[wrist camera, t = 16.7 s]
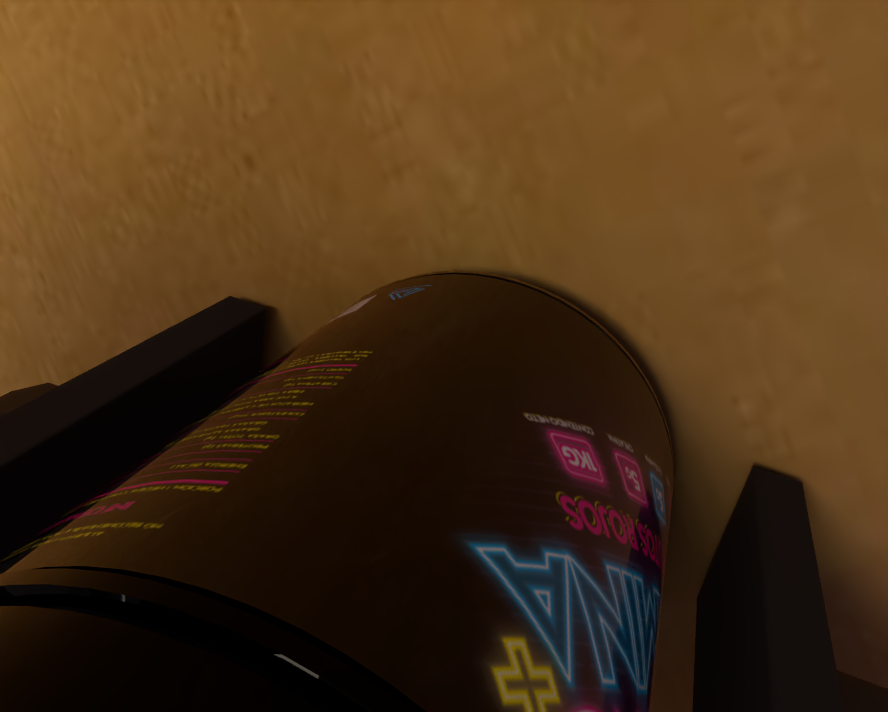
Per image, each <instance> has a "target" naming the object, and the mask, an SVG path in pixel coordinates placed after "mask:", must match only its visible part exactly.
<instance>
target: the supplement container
mask: <svg viewBox="0 0 888 712" xmlns="http://www.w3.org/2000/svg"><path fill="white" fill-rule="evenodd" d="M673 488H674V459H673V449H672V444H671V438H670V433H669V429H668V426H667V423H666V420H665V416H664V413H663V410H662V408H661V406H660V404H659V401H658V399H657V397H656V395H655V392H654V390H653V389H652V387H651V385H650V383H649V382H648V380H647V378H646V377H645V375H644V373H643V372H642V370H641V369H640V368H639V366H638V365H637V363H636V362H635V361H634V359H633V358H632V356H631V355H630V354H629V353H628V352H627V351H626V350H625V348H624V347H623V346H622V345H621V344H620V343H619V342H618V341H617V339H616V338H615V337H613V336H612V335H611V334H610V333H609V332H608V331H607V330H606V329H605V328H604V327H603V326H602V325H600V324H599V323H598V322H597V321H595V320H594V319H593V318H591V317H590V316H589V315H587V314H586V313H585V312H583V311H582V310H581V309H579V308H577V307H576V306H574V305H572V304H571V303H569V302H568V301H566V300H564V299H563V298H561V297H559V296H557V295H554V294H552V293H550V292H548V291H546V290H544V289H542V288H539V287H537V286H534V285H531V284H529V283H526V282H523V281H520V280H516V279H513V278H509V277H505V276H501V275H496V274H489V273H483V272H472V271H443V272H432V273H426V274H420V275H415V276H412V277H408V278H404V279H401V280H397V281H395V282H392V283H390V284H388V285H385V286H383V287H380V288H378V289H376V290H375V291H373V292H371V293H369V294H367V295H366V296H364V297H362V298H361V299H360V300H358V301H357V302H355V303H354V304H353V305H351V306H350V307H348V308H347V309H346V310H344V311H343V312H342V313H340V314H339V315H337V316H336V317H335V318H333V319H332V320H331V321H329V322H328V323H326V324H325V325H324V326H322V327H321V328H320V329H318V330H317V331H315V332H314V333H313V334H311V335H310V336H309V337H307V338H306V339H304V340H303V341H302V342H300V343H299V344H298V345H296V346H295V347H293V348H292V349H291V350H289V351H288V352H287V353H285V354H284V355H283V356H281V357H280V358H278V359H277V360H276V361H274V362H273V363H272V364H270V365H269V366H267V367H266V368H265V369H263V370H262V371H261V372H259V373H258V374H256V375H255V376H254V377H252V378H251V379H250V380H248V381H247V382H245V383H244V384H243V385H241V386H240V387H239V388H237V389H236V390H234V391H233V392H232V393H230V394H229V395H228V396H226V397H225V398H224V399H222V400H221V401H219V402H218V403H217V404H215V405H214V406H213V407H211V408H210V409H208V410H207V411H206V412H204V413H203V414H202V415H200V416H199V417H197V418H196V419H195V420H193V421H192V422H191V423H189V424H188V425H186V426H185V427H184V428H182V429H181V430H180V431H178V432H177V433H175V434H174V435H173V436H171V437H170V438H169V439H167V440H166V441H165V442H163V443H162V444H160V445H159V446H158V447H156V448H155V449H154V450H152V451H151V452H149V453H148V454H147V455H145V456H144V457H143V458H141V459H140V460H138V461H137V462H136V463H134V464H133V465H132V466H130V467H129V468H127V469H126V470H125V471H123V472H122V473H121V474H119V475H118V476H116V477H115V478H114V479H112V480H111V481H110V482H108V483H107V484H106V485H104V486H103V487H101V488H100V489H99V490H97V491H96V492H95V493H93V494H92V495H90V496H89V497H88V498H86V499H85V500H84V501H82V502H81V503H79V504H78V505H77V506H75V507H74V508H73V509H71V510H70V511H68V512H67V513H66V514H64V515H63V516H62V517H60V518H59V519H57V520H56V521H55V522H53V523H52V524H51V525H49V526H48V527H47V528H45V529H44V530H42V531H41V532H40V533H38V534H37V535H36V536H34V537H33V538H31V539H30V540H29V541H27V542H26V543H25V544H23V545H22V546H20V547H19V548H18V549H16V550H15V551H14V552H12V553H11V554H9V555H8V556H7V557H5V558H4V559H3V560H1V561H0V712H651V705H652V695H653V685H654V675H655V666H656V656H657V646H658V636H659V626H660V617H661V607H662V597H663V587H664V577H665V567H666V558H667V548H668V538H669V528H670V518H671V508H672V499H673Z"/></svg>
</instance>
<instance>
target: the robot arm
mask: <svg viewBox="0 0 888 712" xmlns="http://www.w3.org/2000/svg"><path fill="white" fill-rule="evenodd" d="M266 312H267V308H265V307H262V306H259V305H256V304H253V303H250V302H247V301H244V300H241V299H238V298H235V297H232V296H229V297H227V298H225V299H223V300H221V301H220V302H218V303H216V304H214V305H212V306H210V307H208V308H206V309H204V310H202V311H201V312H199V313H197V314H195V315H193V316H191V317H189V318H187V319H185V320H183V321H182V322H180V323H178V324H176V325H174V326H172V327H170V328H168V329H166V330H164V331H163V332H161V333H159V334H157V335H155V336H153V337H151V338H149V339H147V340H145V341H144V342H142V343H140V344H138V345H136V346H134V347H132V348H130V349H128V350H126V351H125V352H123V353H121V354H119V355H117V356H115V357H113V358H111V359H109V360H107V361H106V362H104V363H102V364H100V365H98V366H96V367H94V368H92V369H90V370H88V371H87V372H85V373H83V374H81V375H79V376H77V377H75V378H73V379H71V380H70V381H68V382H66V383H64V384H62V385H60V386H56V385H54V384H51V383H45V384H41V385H36V386H32V387H28V388H24V389H20V390H15V391H11V392H9V393H7V394H5V395H3V396H1V397H0V561H1V560H3V559H4V558H5V557H7V556H8V555H9V554H11V553H12V552H14V551H15V550H16V549H18V548H19V547H20V546H22V545H23V544H25V543H26V542H27V541H29V540H30V539H31V538H33V537H34V536H36V535H37V534H38V533H40V532H41V531H42V530H44V529H45V528H47V527H48V526H49V525H51V524H52V523H53V522H55V521H56V520H57V519H59V518H60V517H62V516H63V515H64V514H66V513H67V512H68V511H70V510H71V509H73V508H74V507H75V506H77V505H78V504H79V503H81V502H82V501H84V500H85V499H86V498H88V497H89V496H90V495H92V494H93V493H95V492H96V491H97V490H99V489H100V488H101V487H103V486H104V485H106V484H107V483H108V482H110V481H111V480H112V479H114V478H115V477H116V476H118V475H119V474H121V473H122V472H123V471H125V470H126V469H127V468H129V467H130V466H132V465H133V464H134V463H136V462H137V461H138V460H140V459H141V458H143V457H144V456H145V455H147V454H148V453H149V452H151V451H152V450H154V449H155V448H156V447H158V446H159V445H160V444H162V443H163V442H165V441H166V440H167V439H169V438H170V437H171V436H173V435H174V434H175V433H177V432H178V431H180V430H181V429H182V428H184V427H185V426H186V425H188V424H189V423H191V422H192V421H193V420H195V419H196V418H197V417H199V416H200V415H202V414H203V413H204V412H206V411H207V410H208V409H210V408H211V407H213V406H214V405H215V404H217V403H218V402H219V401H221V400H222V399H224V398H225V397H226V396H228V395H229V394H230V393H232V392H233V391H234V390H236V389H237V388H239V387H240V386H241V385H243V384H244V383H245V382H247V381H248V380H250V379H251V378H252V377H254V376H255V375H256V374H258V373H259V371H260V363H261V354H262V346H263V337H264V329H265V320H266ZM692 712H888V689H886V688H883V687H881V686H878V685H875V684H872V683H870V682H867V681H864V680H862V679H859V678H856V677H853V676H851V675H848V674H845V673H843V672H840V671H837V670H836V665H835V659H834V654H833V648H832V643H831V638H830V632H829V627H828V621H827V616H826V610H825V605H824V599H823V594H822V589H821V583H820V578H819V572H818V567H817V561H816V556H815V550H814V545H813V540H812V534H811V529H810V523H809V518H808V512H807V507H806V501H805V496H804V491H803V485H802V482H799V481H796V480H793V479H790V478H787V477H784V476H781V475H778V474H775V473H772V472H769V471H766V470H763V469H760V468H757V467H753V469H752V471H751V473H750V476H749V478H748V480H747V483H746V485H745V487H744V490H743V492H742V494H741V497H740V499H739V501H738V504H737V506H736V508H735V510H734V513H733V515H732V517H731V520H730V522H729V524H728V527H727V529H726V531H725V534H724V536H723V538H722V541H721V543H720V545H719V548H718V550H717V552H716V555H715V557H714V559H713V562H712V564H711V566H710V569H709V571H708V573H707V576H706V578H705V580H704V583H703V585H702V587H701V590H700V592H699V594H698V597H697V614H696V638H695V662H694V686H693V710H692Z"/></svg>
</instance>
